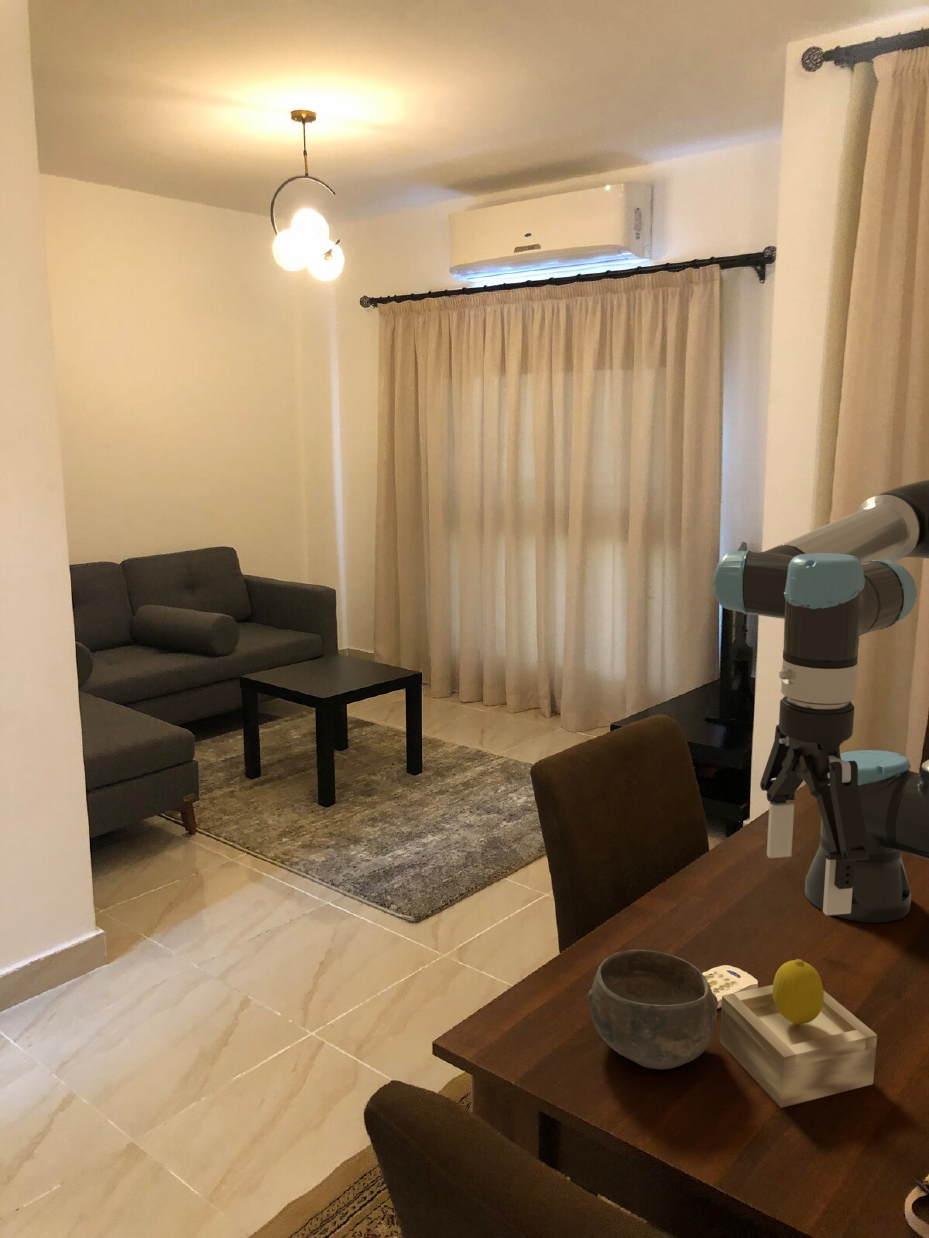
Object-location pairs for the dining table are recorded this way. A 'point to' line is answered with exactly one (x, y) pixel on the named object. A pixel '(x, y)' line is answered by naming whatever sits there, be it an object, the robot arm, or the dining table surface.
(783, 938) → the dining table surface
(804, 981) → the lemon
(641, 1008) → the bowl
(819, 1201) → the dining table surface
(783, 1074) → the birch box
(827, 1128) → the dining table surface
